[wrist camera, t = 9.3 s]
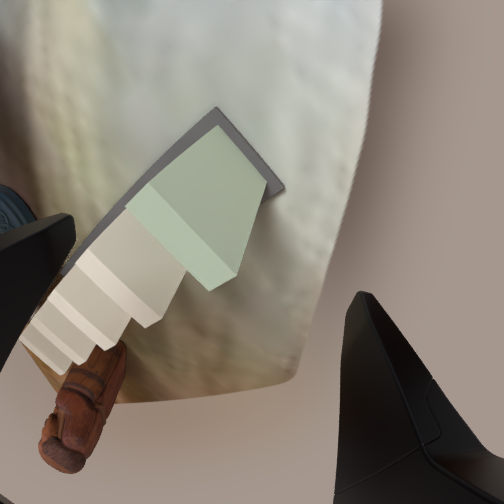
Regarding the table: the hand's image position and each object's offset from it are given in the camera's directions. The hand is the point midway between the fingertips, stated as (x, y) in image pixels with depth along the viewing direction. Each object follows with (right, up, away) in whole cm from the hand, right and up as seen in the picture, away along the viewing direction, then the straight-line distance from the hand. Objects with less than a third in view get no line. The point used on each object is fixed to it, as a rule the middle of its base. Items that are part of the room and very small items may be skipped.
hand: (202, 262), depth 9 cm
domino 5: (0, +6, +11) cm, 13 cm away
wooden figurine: (-18, -14, +29) cm, 37 cm away
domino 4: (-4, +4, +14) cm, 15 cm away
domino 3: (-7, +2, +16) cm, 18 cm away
